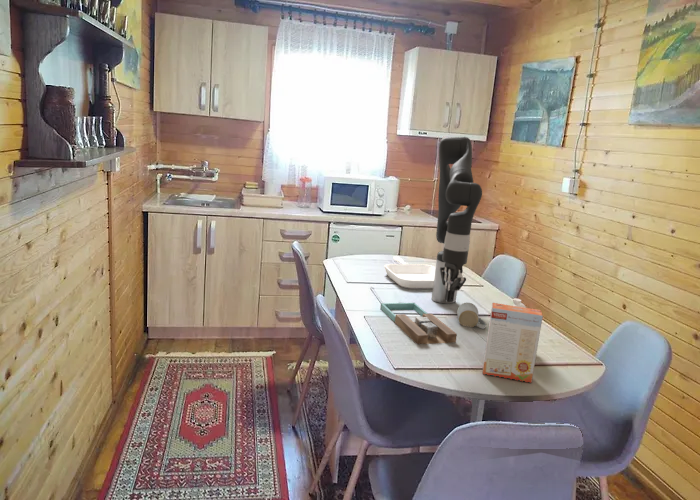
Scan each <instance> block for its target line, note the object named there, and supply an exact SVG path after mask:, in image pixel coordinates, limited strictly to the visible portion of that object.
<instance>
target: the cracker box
mask: <svg viewBox="0 0 700 500" xmlns="http://www.w3.org/2000/svg"><path fill="white" fill-rule="evenodd" d="M543 317H544V315H543V312H542V310H541V309H536V308H530V307H526V308H524V307H517V306H513V305H509V304H504V303H498V302H492V304H491V310H490V317H489V324H488V330H487V331H488V332H487V338H486V344H485V351H484V355H483V356H484V357H483V363H482V364H483V365H482V375H485V374H487V375H486V376H490V375H494V376H493V377H496V376H499V377H498V378H501V377H504V378H503V379H507V378H510V379H509V380H512V379H515V380H514V381H518V380H520V381H519V382H523V381H525V382H524V383H528V382H530V383H529V384H531V383H532V381H533V375H534V369H535V363H536V360H537V359H536V357H537V352H538V346H539V341H540V335H541V330H542V323H543Z"/></svg>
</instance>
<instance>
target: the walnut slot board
mask: <svg viewBox="0 0 700 500" xmlns="http://www.w3.org/2000/svg"><path fill="white" fill-rule="evenodd" d="M395 315H396V317H395V322H394V323H395V324H396V326H398V328H400V330H402V331H403V332H404V333H405V334H406V335H407V336H408V337H409V338H410V339H411V340H412V341H413V342H414V343H415V344H417V345H429V344H430V345H431V344H432V345H433V344H435V345H436V344H453V343H456V341H457V337H458V336H457V335H458V333H456V332H455V331H454V330H453V329H451V328H450V327H449V326H448V325H447V324H445V323H444V322H442V320H441V319H439V318H438V317H436V316H435V315H434V314H433V313H428V314H423V315H422V316H421V317H427V318H428V319H429V320H430V321H431V323H433V324H434V325H436V326H438V330H437V337H436V338H431V339H428V335H427V334H426V333H425V332H424V331H423V330H422V329H421V328H420V327H418V326H417V325H416V324H415V321H413V320H412V319H411V318H410V317H409V316H407V315H406V314H405V313H403V314H402V313H401V314H397V313H396V314H395Z"/></svg>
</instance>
